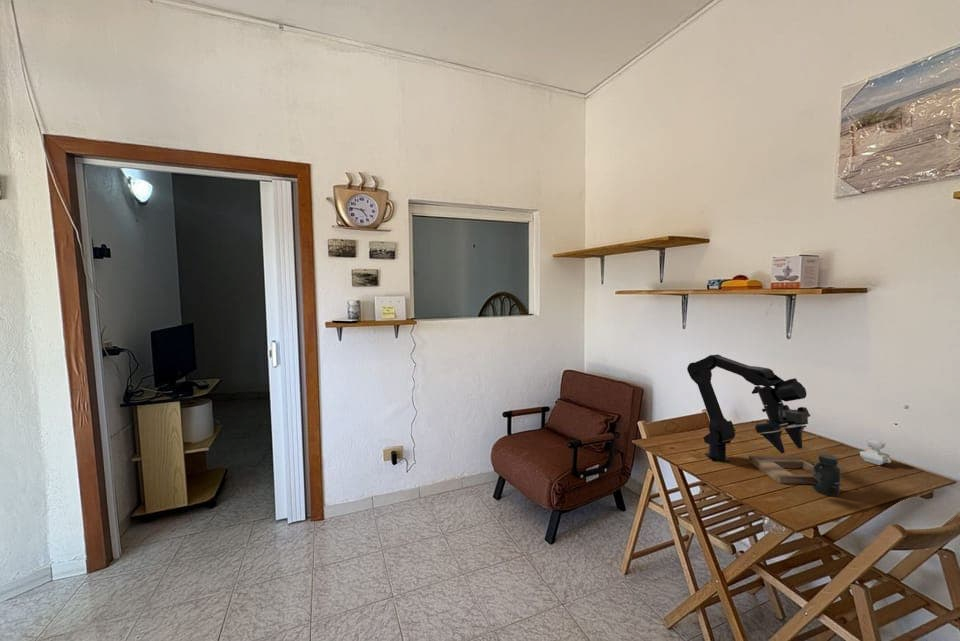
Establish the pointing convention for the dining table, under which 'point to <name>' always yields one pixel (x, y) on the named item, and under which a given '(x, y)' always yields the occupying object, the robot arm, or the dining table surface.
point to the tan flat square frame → (776, 468)
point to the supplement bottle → (827, 475)
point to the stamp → (875, 453)
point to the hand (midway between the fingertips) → (791, 450)
